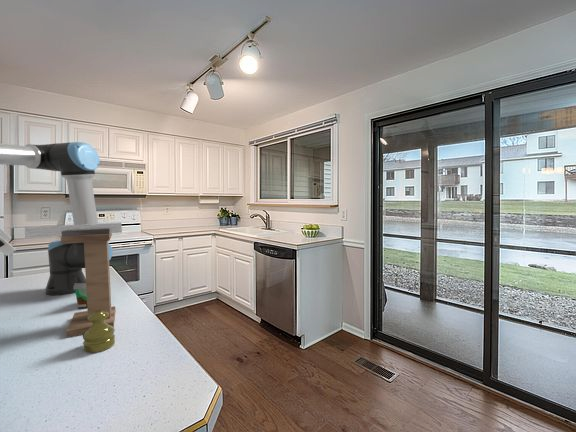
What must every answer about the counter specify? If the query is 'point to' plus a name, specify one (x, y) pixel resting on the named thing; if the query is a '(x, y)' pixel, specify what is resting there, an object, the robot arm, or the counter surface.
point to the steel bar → (69, 229)
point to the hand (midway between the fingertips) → (9, 246)
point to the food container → (81, 295)
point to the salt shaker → (98, 333)
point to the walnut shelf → (92, 277)
